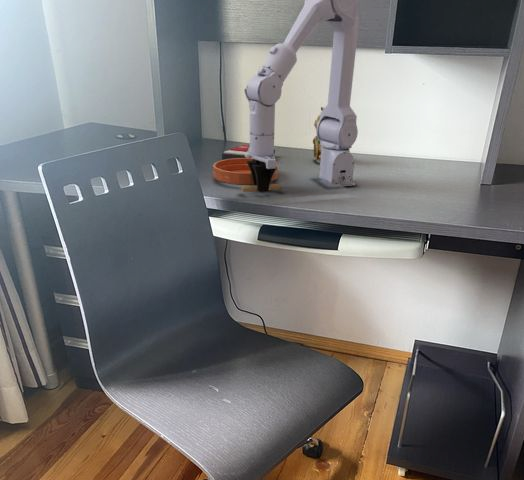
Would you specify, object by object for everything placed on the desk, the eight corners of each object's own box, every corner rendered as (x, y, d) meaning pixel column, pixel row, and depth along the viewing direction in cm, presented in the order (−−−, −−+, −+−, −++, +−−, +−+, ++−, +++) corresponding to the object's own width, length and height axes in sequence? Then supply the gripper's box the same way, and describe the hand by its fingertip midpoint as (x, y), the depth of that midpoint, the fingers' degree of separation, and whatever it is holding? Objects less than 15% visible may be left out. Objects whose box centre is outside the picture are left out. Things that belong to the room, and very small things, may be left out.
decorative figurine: (308, 158, 165) (311, 105, 157) (333, 157, 167) (337, 104, 159) (319, 165, 157) (323, 110, 149) (345, 164, 159) (350, 109, 151)
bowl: (286, 186, 138) (287, 170, 135) (223, 191, 133) (222, 175, 131) (265, 171, 151) (265, 156, 149) (207, 175, 146) (206, 159, 144)
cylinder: (277, 191, 134) (278, 182, 133) (280, 194, 132) (281, 185, 131) (240, 194, 131) (240, 185, 130) (243, 196, 129) (243, 187, 128)
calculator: (275, 146, 162) (257, 154, 149) (274, 161, 164) (256, 170, 151) (241, 143, 165) (221, 150, 153) (241, 158, 167) (221, 166, 155)
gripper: (236, 128, 129) (237, 185, 136) (255, 140, 117) (254, 202, 124) (264, 127, 131) (263, 184, 138) (285, 138, 119) (283, 199, 126)
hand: (261, 192), depth 131 cm, fingers closed on cylinder, 2 cm apart
